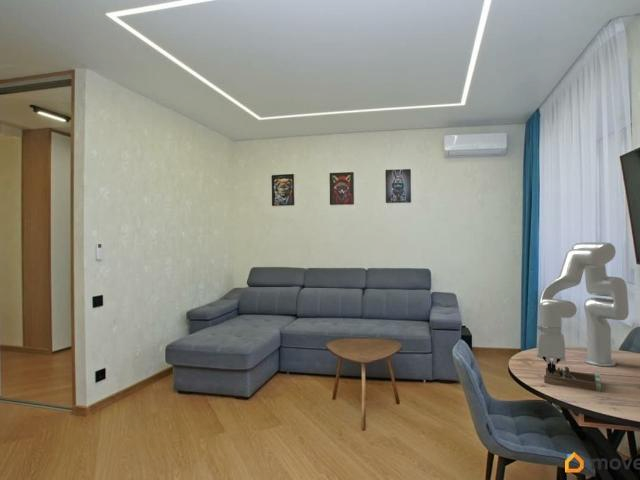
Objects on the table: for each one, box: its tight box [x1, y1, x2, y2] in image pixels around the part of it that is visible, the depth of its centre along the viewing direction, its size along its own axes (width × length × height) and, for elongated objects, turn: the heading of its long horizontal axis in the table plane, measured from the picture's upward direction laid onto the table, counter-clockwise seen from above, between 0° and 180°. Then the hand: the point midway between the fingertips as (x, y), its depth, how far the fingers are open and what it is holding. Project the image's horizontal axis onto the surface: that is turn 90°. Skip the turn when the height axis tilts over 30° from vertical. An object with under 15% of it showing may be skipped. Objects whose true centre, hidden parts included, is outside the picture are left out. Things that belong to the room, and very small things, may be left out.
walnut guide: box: [543, 367, 602, 392], centre depth 166 cm, size 12×20×4 cm, turn 57°
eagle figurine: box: [556, 366, 577, 380], centre depth 167 cm, size 8×7×9 cm
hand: (551, 372), depth 169 cm, fingers closed
